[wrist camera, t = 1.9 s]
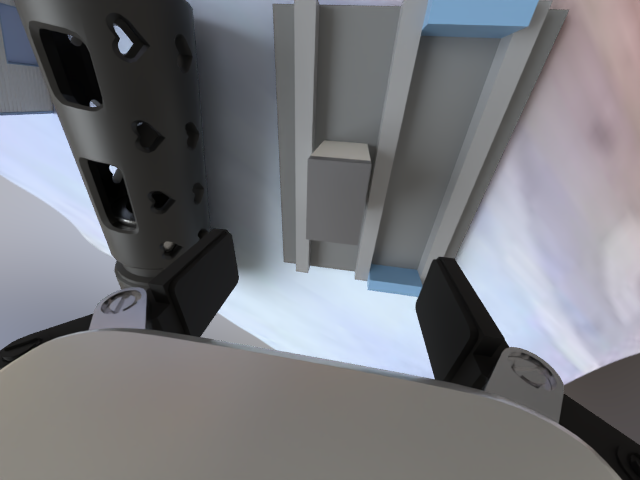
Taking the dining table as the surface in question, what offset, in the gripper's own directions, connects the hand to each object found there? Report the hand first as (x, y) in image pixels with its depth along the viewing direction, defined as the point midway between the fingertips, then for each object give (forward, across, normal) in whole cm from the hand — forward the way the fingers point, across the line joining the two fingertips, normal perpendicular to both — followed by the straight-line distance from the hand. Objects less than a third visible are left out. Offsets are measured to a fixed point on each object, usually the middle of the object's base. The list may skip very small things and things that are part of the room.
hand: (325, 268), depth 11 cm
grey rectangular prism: (+14, 0, -1) cm, 14 cm away
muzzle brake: (+16, +18, +1) cm, 23 cm away
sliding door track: (+15, -3, -1) cm, 16 cm away
